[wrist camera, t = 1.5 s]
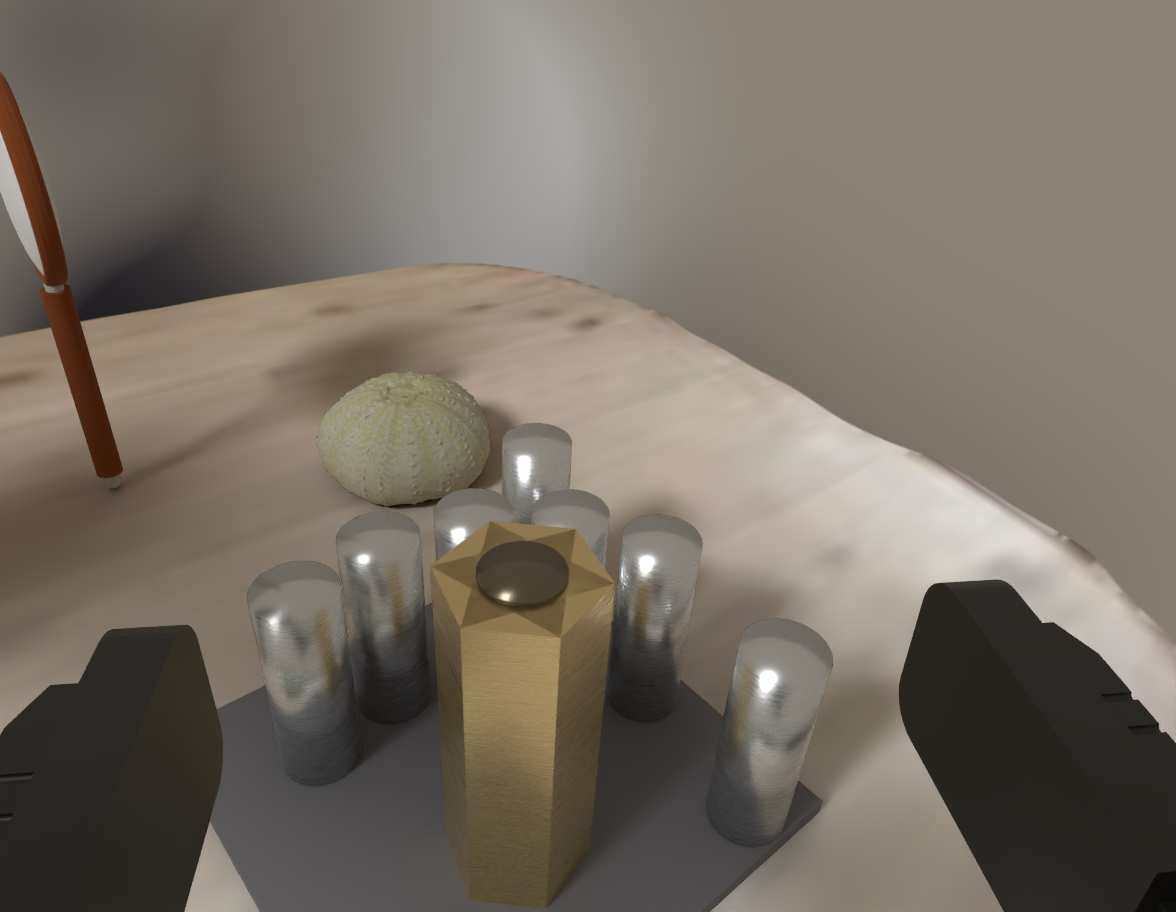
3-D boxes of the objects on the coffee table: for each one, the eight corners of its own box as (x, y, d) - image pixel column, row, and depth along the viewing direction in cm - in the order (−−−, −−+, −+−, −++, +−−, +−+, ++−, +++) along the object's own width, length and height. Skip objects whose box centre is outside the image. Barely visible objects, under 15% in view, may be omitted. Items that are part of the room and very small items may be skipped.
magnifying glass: (79, 451, 48) (-49, 51, 37) (113, 443, 49) (-2, 48, 37) (115, 539, 42) (-24, 96, 31) (154, 527, 43) (32, 92, 32)
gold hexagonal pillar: (605, 882, 29) (638, 609, 22) (482, 935, 27) (477, 658, 20) (546, 765, 32) (558, 499, 25) (434, 806, 31) (416, 534, 24)
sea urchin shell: (512, 396, 52) (488, 354, 44) (489, 530, 50) (461, 511, 42) (361, 377, 52) (311, 333, 45) (335, 509, 51) (278, 486, 43)
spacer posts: (243, 709, 34) (204, 547, 29) (538, 561, 42) (542, 416, 37) (495, 1091, 24) (494, 936, 19) (818, 800, 32) (871, 642, 27)
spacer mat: (168, 745, 33) (164, 734, 32) (532, 563, 42) (532, 553, 42) (410, 1183, 22) (409, 1175, 22) (819, 811, 32) (822, 801, 32)
